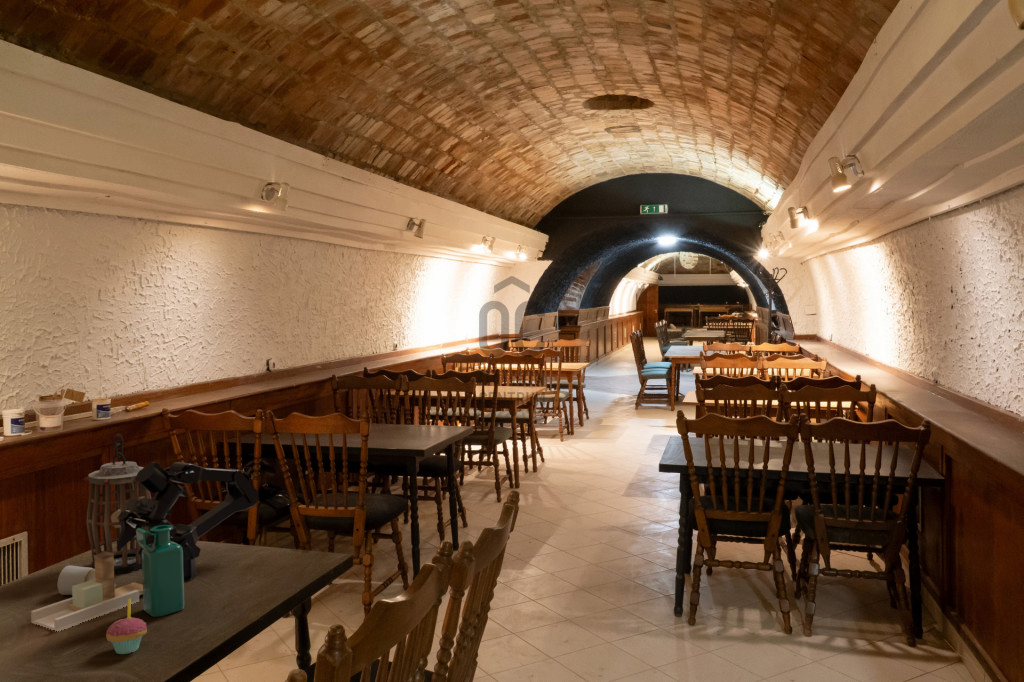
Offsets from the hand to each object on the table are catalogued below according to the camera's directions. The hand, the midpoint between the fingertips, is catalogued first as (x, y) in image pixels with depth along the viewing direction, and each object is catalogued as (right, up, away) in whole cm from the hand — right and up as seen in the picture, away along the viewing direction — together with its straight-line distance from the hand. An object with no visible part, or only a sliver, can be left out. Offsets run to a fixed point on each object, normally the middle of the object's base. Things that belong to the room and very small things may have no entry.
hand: (128, 551), depth 217 cm
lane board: (-6, -13, -10) cm, 17 cm away
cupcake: (+15, -14, -32) cm, 38 cm away
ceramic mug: (-15, -12, +4) cm, 20 cm away
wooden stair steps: (-3, -12, -4) cm, 12 cm away
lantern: (-14, -11, +26) cm, 32 cm away
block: (-6, -11, -10) cm, 16 cm away
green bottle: (+13, -13, -9) cm, 20 cm away
